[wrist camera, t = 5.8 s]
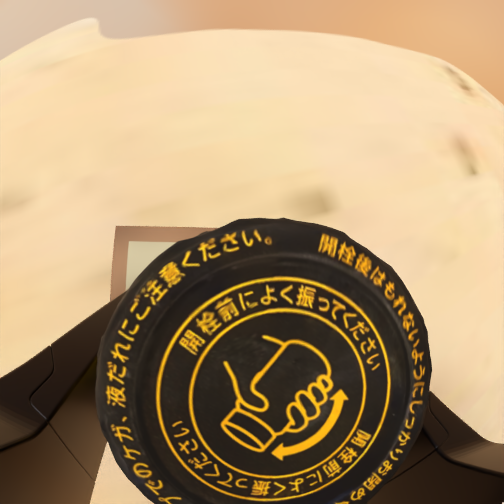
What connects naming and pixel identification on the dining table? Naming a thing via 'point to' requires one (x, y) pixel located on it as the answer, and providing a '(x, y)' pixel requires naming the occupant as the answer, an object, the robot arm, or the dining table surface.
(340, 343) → the condiment
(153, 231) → the plinth
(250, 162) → the dining table surface
